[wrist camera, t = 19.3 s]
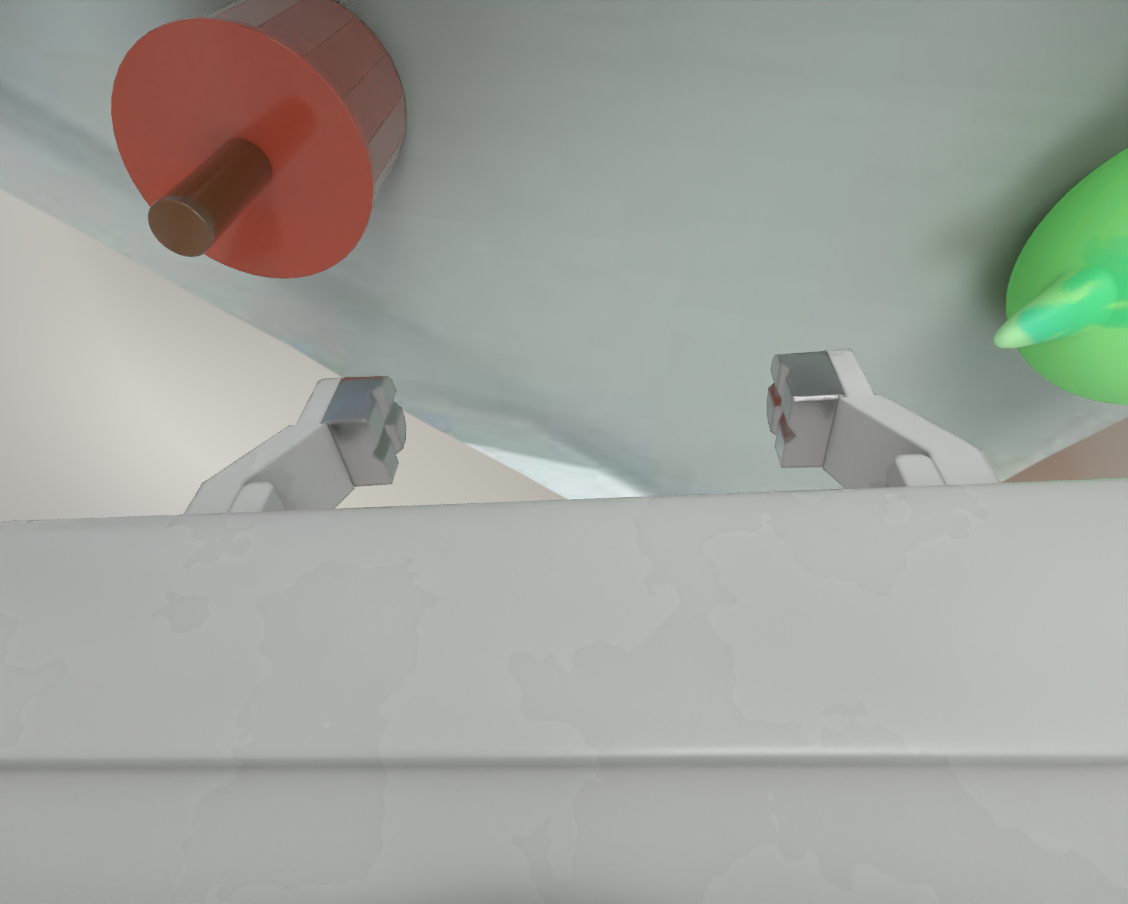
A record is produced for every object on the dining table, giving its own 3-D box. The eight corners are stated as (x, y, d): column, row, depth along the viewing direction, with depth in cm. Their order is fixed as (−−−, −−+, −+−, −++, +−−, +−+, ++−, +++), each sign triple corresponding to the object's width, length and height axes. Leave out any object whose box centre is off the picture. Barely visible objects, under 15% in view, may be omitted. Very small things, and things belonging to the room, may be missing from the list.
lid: (77, 134, 35) (-40, 202, 28) (213, -58, 29) (105, -26, 23) (284, 307, 41) (227, 394, 35) (428, 178, 36) (391, 255, 29)
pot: (177, 82, 42) (83, 139, 34) (290, -66, 37) (209, -37, 29) (328, 225, 48) (277, 301, 41) (444, 117, 43) (411, 180, 35)
